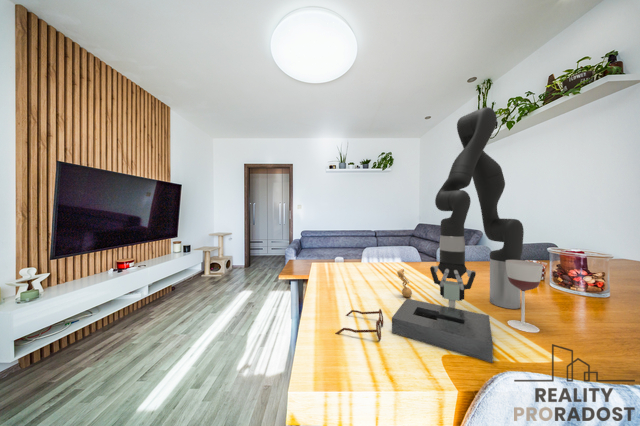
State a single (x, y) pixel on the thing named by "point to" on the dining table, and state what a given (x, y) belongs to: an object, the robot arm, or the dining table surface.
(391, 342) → the dining table surface
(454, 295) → the keyhole peg
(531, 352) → the dining table surface
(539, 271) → the wineglass
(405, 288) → the figurine
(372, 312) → the glasses
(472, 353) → the keyhole plate
